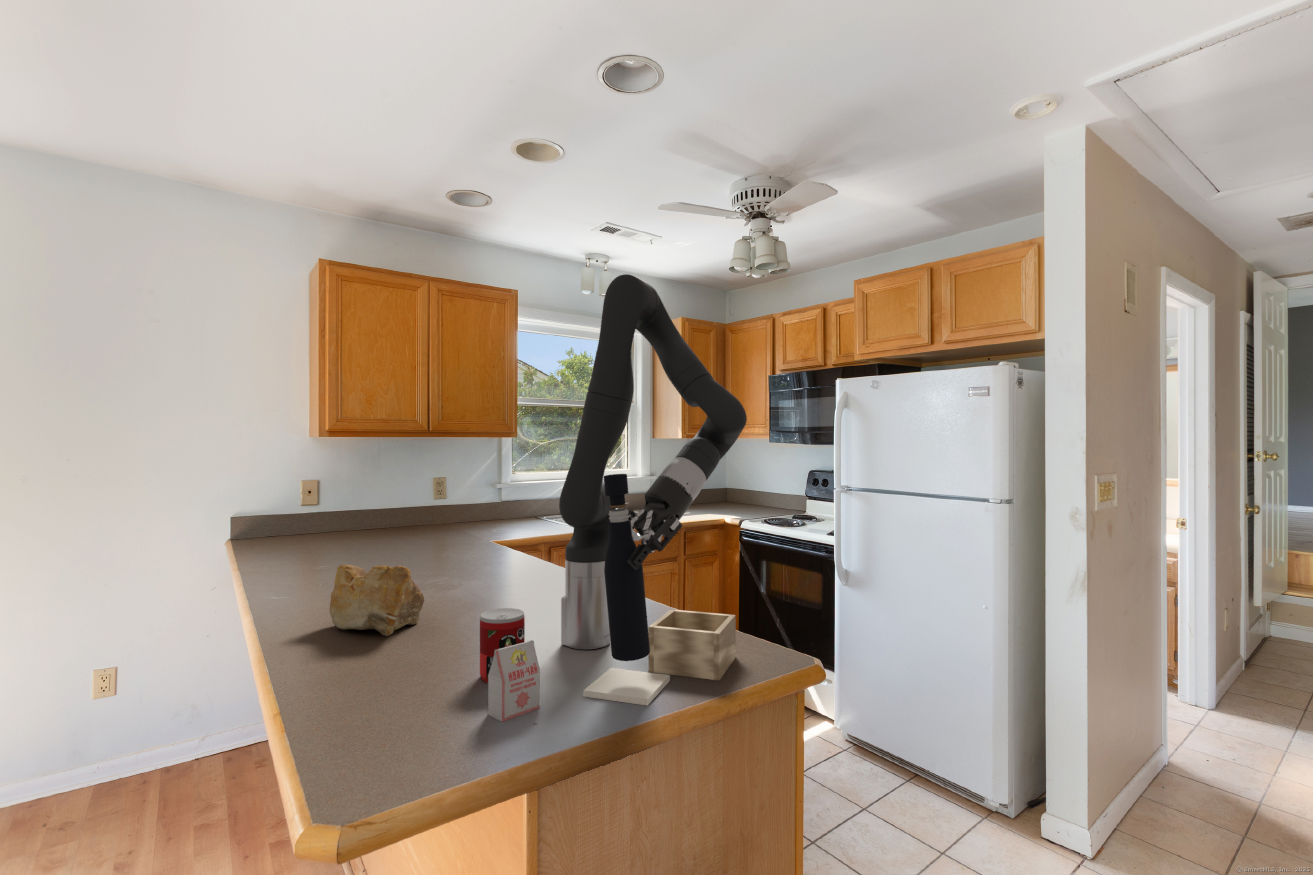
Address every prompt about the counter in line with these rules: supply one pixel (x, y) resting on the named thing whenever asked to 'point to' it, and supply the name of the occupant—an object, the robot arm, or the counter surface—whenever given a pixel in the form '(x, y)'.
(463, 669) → the counter surface
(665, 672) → the pine crate
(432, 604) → the counter surface
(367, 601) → the rough brown rock
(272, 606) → the counter surface
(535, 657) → the white paper bag
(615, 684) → the cream tile
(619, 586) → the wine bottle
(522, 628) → the canned food
